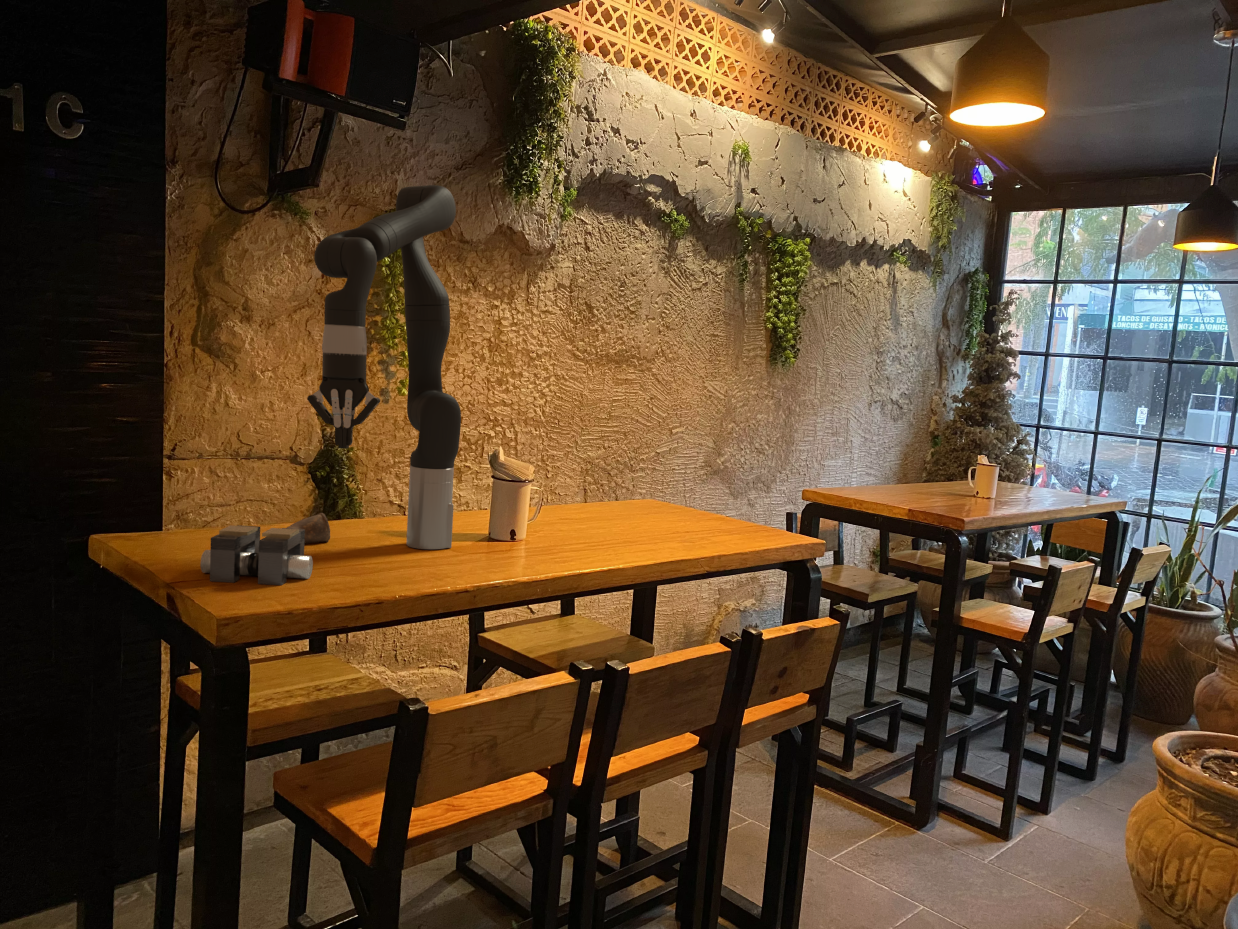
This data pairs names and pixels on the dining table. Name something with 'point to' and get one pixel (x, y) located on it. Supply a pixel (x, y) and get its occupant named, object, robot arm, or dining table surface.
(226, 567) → the grey u-shaped stands
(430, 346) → the robot arm
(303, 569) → the tube
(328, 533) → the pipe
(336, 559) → the dining table surface
